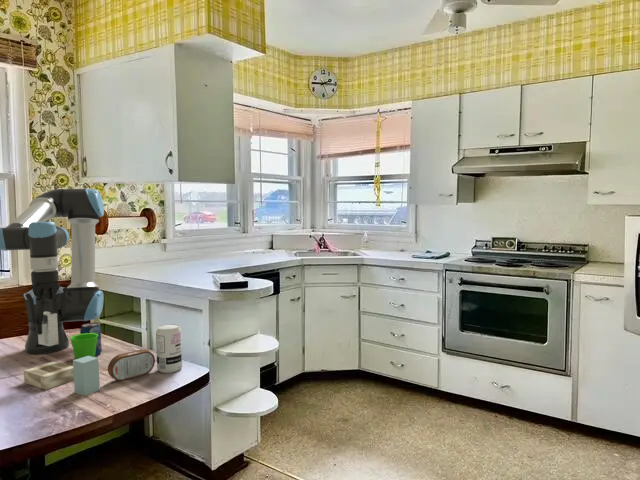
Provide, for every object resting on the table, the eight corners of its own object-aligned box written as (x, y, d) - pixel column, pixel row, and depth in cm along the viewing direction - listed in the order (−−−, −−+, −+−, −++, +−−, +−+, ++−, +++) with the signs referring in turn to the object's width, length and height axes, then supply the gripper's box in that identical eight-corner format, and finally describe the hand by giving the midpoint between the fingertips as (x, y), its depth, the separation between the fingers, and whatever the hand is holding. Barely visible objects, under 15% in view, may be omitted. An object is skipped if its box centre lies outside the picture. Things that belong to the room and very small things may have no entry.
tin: (152, 370, 160) (151, 346, 159) (156, 372, 157) (155, 348, 157) (107, 382, 149) (106, 356, 148) (111, 384, 147) (110, 358, 146)
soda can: (103, 356, 175) (101, 324, 174) (82, 359, 171) (81, 327, 170) (100, 351, 181) (98, 321, 180) (80, 354, 177) (78, 323, 176)
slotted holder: (55, 372, 158) (54, 361, 157) (76, 379, 152) (75, 367, 151) (24, 382, 149) (23, 370, 149) (45, 389, 143) (45, 377, 143)
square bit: (89, 386, 145) (88, 355, 144) (99, 389, 142) (98, 358, 142) (74, 392, 141) (72, 360, 140) (84, 395, 138) (83, 363, 137)
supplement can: (160, 365, 163) (159, 324, 162) (184, 365, 164) (183, 323, 163) (154, 374, 155) (152, 330, 154) (179, 373, 156) (177, 329, 155)
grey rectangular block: (47, 341, 152) (46, 311, 151) (58, 343, 149) (57, 313, 148) (38, 343, 149) (36, 313, 149) (49, 346, 146) (47, 315, 146)
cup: (88, 372, 158) (86, 340, 157) (65, 370, 160) (63, 339, 159) (105, 363, 166) (104, 333, 166) (83, 362, 168) (81, 332, 167)
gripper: (24, 274, 139) (28, 350, 140) (75, 267, 153) (79, 337, 154) (11, 272, 143) (15, 347, 144) (62, 266, 156) (65, 334, 158)
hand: (48, 342), depth 149 cm, fingers closed on grey rectangular block, 3 cm apart
